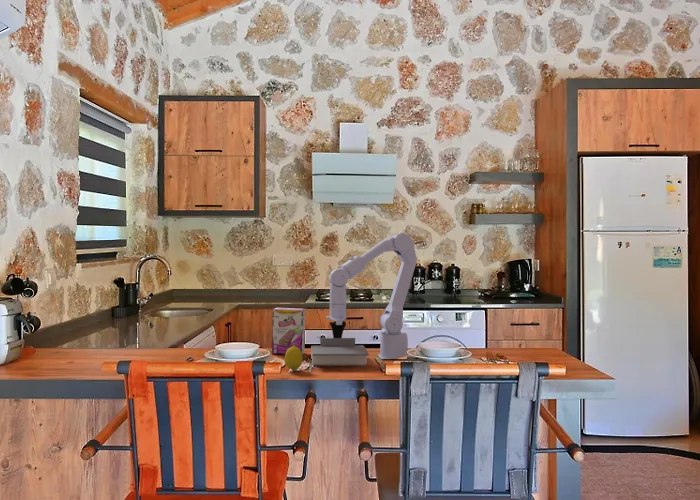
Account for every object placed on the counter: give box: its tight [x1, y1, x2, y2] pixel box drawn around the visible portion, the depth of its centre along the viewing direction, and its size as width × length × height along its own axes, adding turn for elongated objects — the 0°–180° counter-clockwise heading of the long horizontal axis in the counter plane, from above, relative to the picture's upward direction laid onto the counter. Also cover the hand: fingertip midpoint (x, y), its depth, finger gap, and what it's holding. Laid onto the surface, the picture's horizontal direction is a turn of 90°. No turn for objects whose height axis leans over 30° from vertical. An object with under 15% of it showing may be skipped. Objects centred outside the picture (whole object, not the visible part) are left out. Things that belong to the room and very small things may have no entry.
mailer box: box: [310, 345, 368, 367], centre depth 192 cm, size 18×14×4 cm
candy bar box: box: [271, 307, 306, 356], centre depth 203 cm, size 11×5×16 cm, turn 84°
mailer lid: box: [311, 337, 370, 357], centre depth 188 cm, size 18×14×3 cm
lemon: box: [284, 346, 303, 372], centre depth 177 cm, size 6×6×8 cm
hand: (337, 342), depth 196 cm, fingers closed
